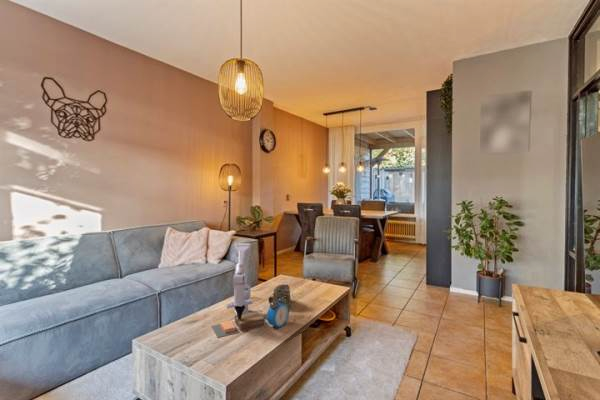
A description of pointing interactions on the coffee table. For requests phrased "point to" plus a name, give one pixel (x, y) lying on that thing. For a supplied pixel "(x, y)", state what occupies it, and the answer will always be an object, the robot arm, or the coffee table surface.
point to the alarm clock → (278, 313)
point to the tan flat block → (249, 321)
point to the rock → (281, 294)
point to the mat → (220, 332)
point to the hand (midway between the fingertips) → (239, 318)
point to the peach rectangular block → (228, 326)
